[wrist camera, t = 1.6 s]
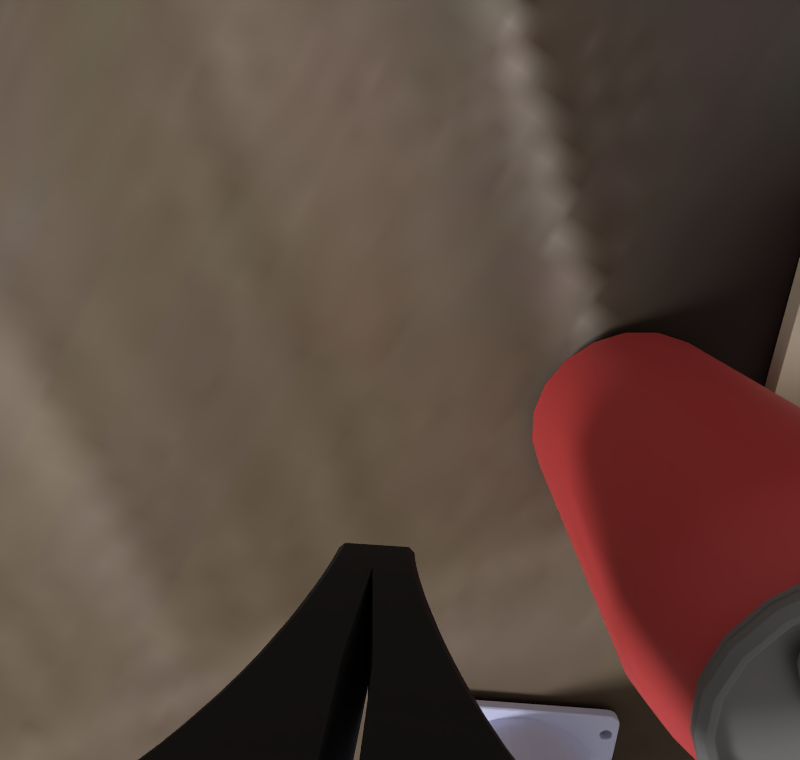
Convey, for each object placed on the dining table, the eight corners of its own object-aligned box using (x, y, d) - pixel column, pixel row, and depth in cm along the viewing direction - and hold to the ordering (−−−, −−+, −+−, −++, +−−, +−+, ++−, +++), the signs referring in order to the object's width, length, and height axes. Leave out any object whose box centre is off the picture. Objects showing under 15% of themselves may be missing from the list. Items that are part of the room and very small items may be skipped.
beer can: (640, 285, 18) (992, 442, 7) (759, 420, 20) (1221, 738, 8) (489, 417, 20) (574, 717, 9) (608, 533, 21) (818, 927, 10)
